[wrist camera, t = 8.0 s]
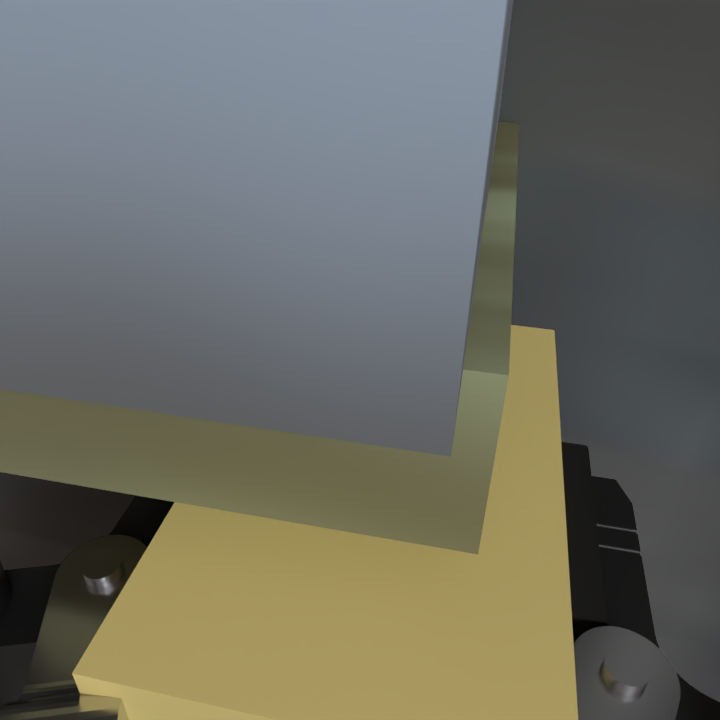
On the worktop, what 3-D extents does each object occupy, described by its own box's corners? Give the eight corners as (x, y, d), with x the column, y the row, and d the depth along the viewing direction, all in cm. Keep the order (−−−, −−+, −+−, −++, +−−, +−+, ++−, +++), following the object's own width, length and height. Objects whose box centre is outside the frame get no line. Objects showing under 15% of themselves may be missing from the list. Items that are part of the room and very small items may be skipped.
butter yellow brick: (296, 299, 13) (71, 673, 7) (554, 329, 12) (582, 789, 6) (302, 450, 15) (139, 840, 9) (521, 484, 15) (514, 939, 8)
